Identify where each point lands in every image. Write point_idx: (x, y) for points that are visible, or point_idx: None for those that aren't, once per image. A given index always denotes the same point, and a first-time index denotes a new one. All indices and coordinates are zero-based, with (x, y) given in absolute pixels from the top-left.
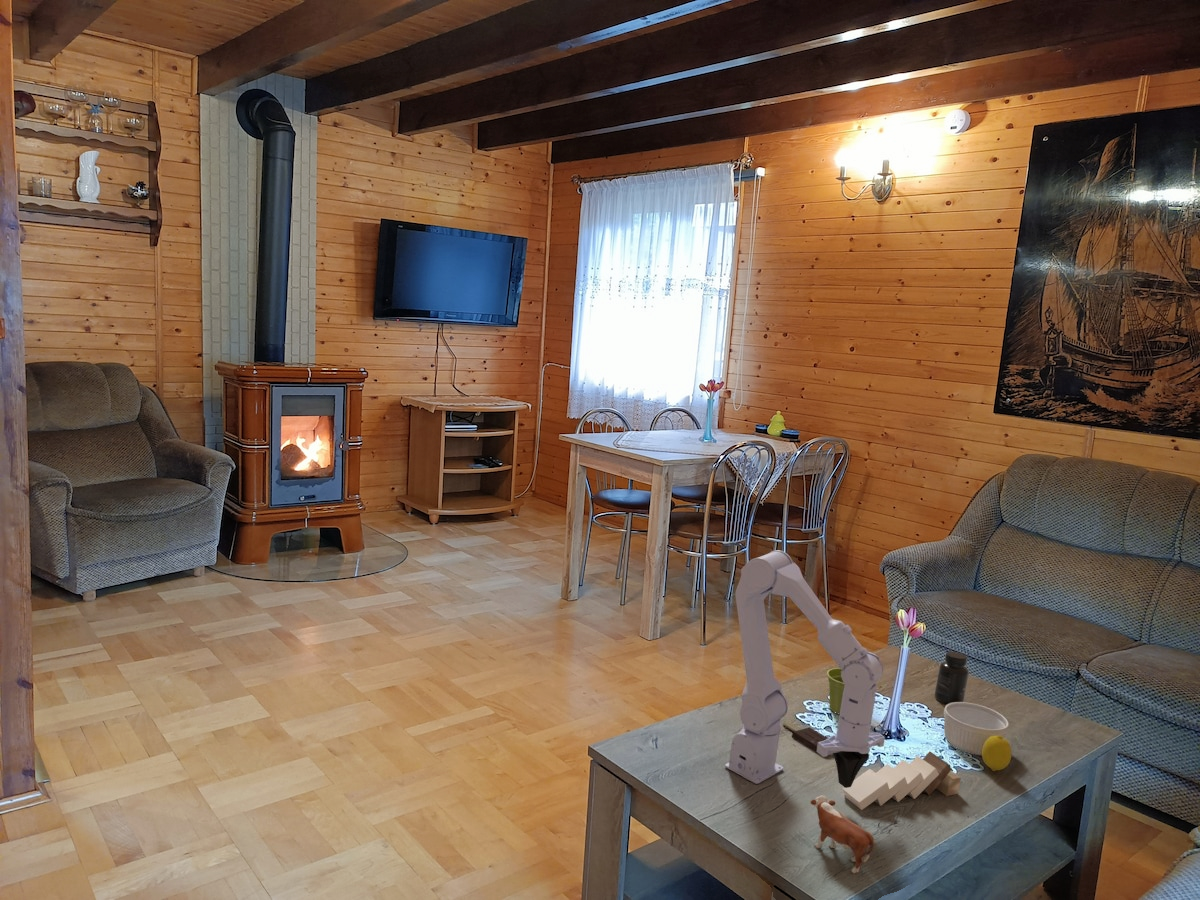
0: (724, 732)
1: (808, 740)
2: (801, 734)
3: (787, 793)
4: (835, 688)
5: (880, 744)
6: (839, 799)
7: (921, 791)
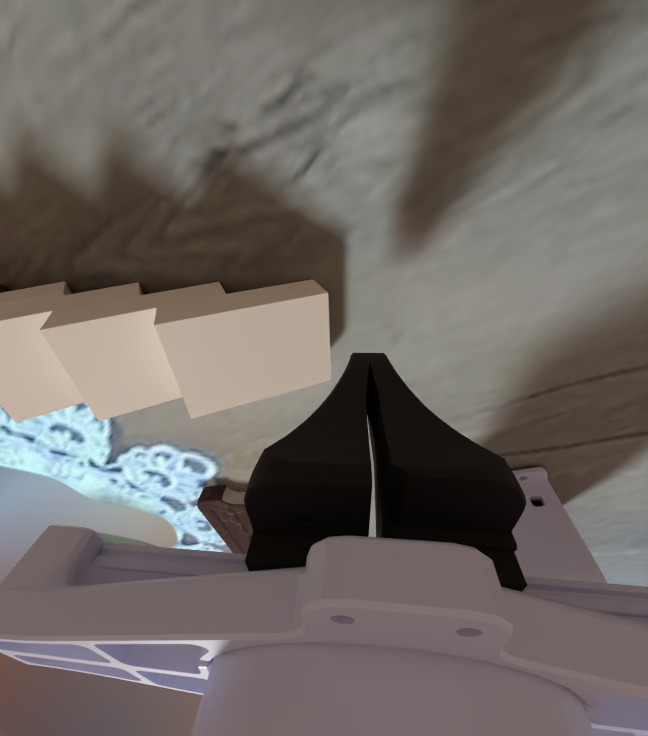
0: None
1: None
2: None
3: (491, 417)
4: None
5: (65, 552)
6: (348, 352)
7: (15, 290)
